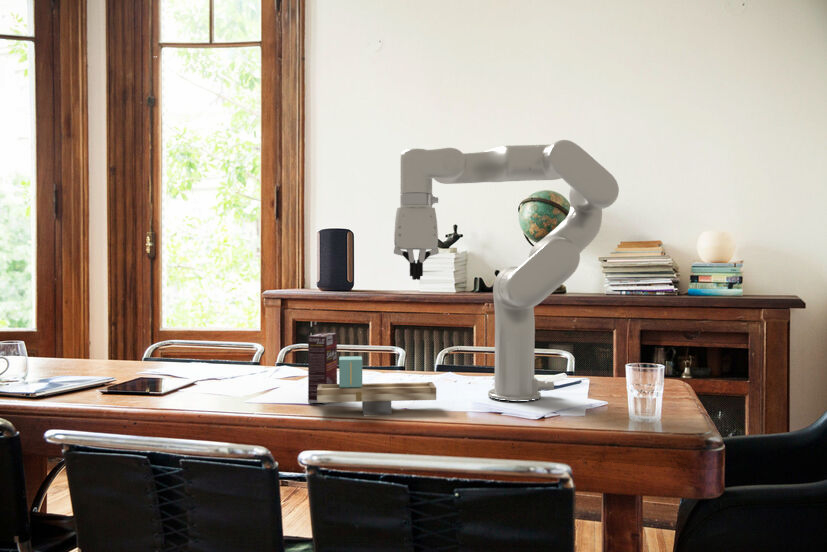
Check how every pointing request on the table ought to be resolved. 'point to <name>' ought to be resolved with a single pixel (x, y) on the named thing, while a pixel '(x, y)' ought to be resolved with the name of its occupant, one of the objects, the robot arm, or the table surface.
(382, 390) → the beam
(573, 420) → the table surface
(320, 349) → the supplement box
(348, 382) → the block
